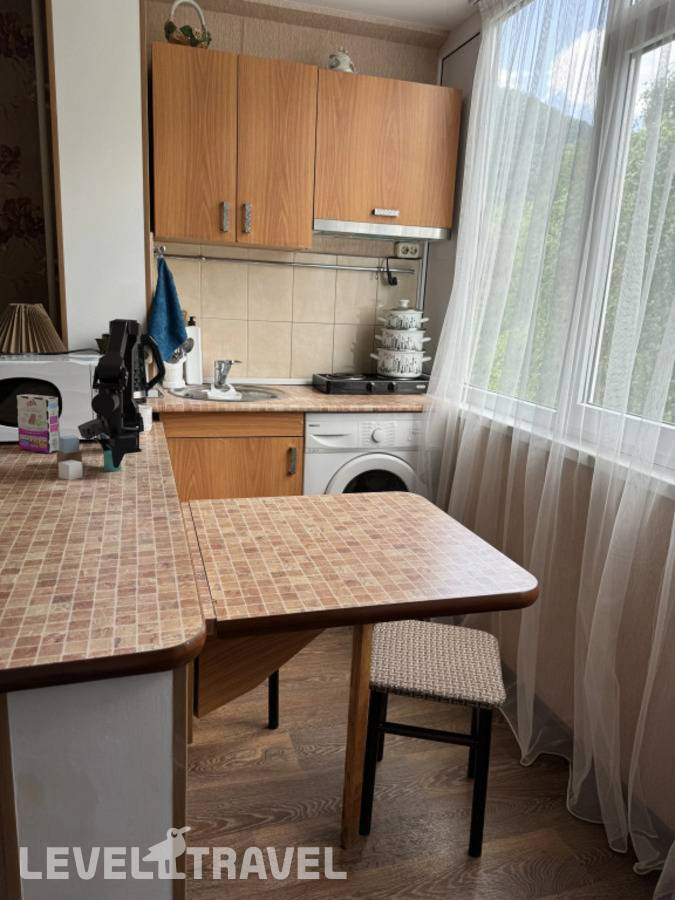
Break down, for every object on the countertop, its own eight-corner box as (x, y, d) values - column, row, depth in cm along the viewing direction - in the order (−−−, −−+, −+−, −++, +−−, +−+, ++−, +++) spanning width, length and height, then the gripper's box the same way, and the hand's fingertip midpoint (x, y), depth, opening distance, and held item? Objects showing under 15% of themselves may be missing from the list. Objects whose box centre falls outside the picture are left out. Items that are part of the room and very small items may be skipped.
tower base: (75, 462, 181) (74, 448, 180) (82, 466, 177) (81, 452, 176) (57, 464, 177) (56, 450, 177) (63, 468, 174) (63, 454, 173)
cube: (71, 474, 169) (71, 459, 168) (82, 477, 167) (82, 462, 166) (58, 477, 165) (58, 462, 164) (69, 480, 163) (69, 465, 163)
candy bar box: (61, 450, 192) (59, 396, 189) (49, 454, 188) (47, 398, 184) (30, 446, 196) (28, 393, 192) (18, 449, 191) (15, 394, 187)
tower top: (73, 449, 179) (73, 435, 178) (79, 451, 176) (78, 437, 176) (59, 450, 177) (58, 436, 176) (64, 453, 174) (64, 439, 173)
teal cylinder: (116, 466, 179) (116, 449, 177) (123, 470, 175) (123, 452, 174) (101, 468, 176) (100, 450, 174) (108, 472, 172) (107, 454, 171)
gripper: (68, 405, 173) (69, 461, 177) (95, 417, 160) (97, 477, 163) (108, 403, 181) (109, 457, 184) (137, 414, 167) (138, 472, 171)
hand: (112, 465), depth 175 cm, fingers closed on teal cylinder, 4 cm apart
